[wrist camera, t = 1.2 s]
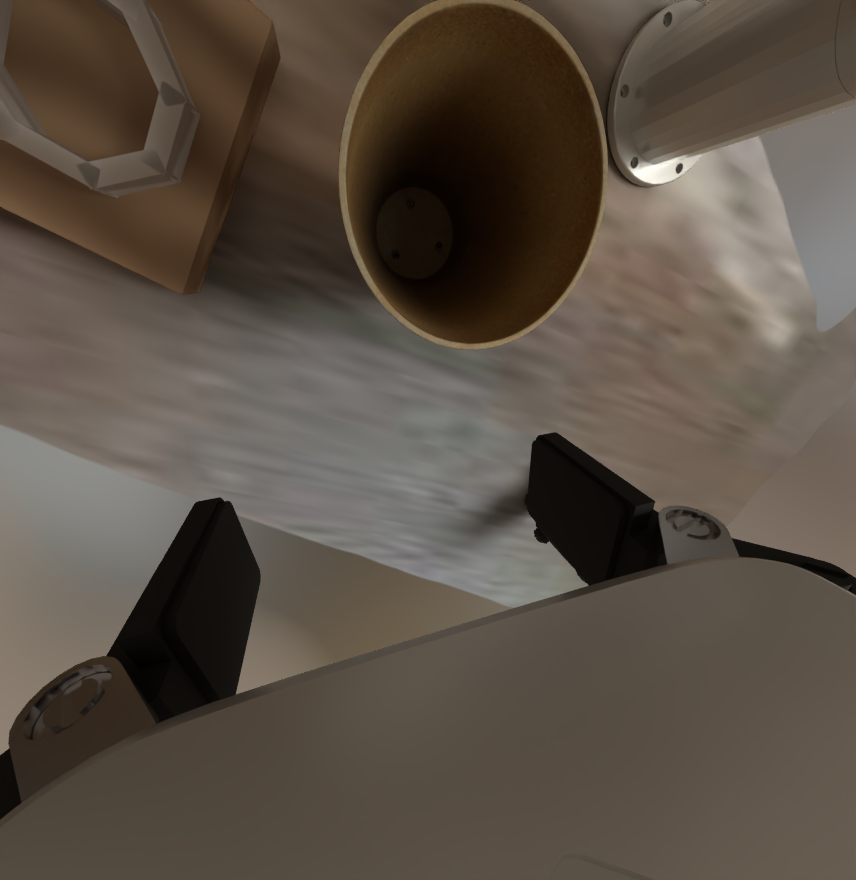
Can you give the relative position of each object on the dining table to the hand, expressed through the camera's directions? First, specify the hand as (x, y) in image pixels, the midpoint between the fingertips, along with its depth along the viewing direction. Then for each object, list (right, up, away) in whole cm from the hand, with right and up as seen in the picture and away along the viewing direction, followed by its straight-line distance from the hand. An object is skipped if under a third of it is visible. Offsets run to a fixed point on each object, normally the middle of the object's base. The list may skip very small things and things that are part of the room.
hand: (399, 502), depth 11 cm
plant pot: (0, +21, +21) cm, 30 cm away
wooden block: (-20, +25, +13) cm, 34 cm away
